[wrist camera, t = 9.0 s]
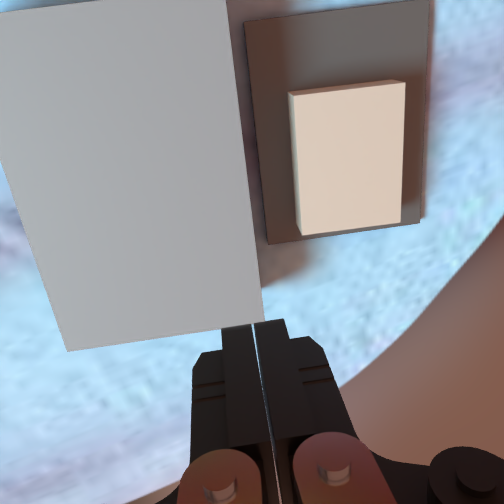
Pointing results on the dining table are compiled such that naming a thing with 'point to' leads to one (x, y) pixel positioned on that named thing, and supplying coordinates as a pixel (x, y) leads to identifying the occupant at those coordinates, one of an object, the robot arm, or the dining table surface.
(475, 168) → the dining table surface
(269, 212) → the mat
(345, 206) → the cream rectangular block
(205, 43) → the grey box
